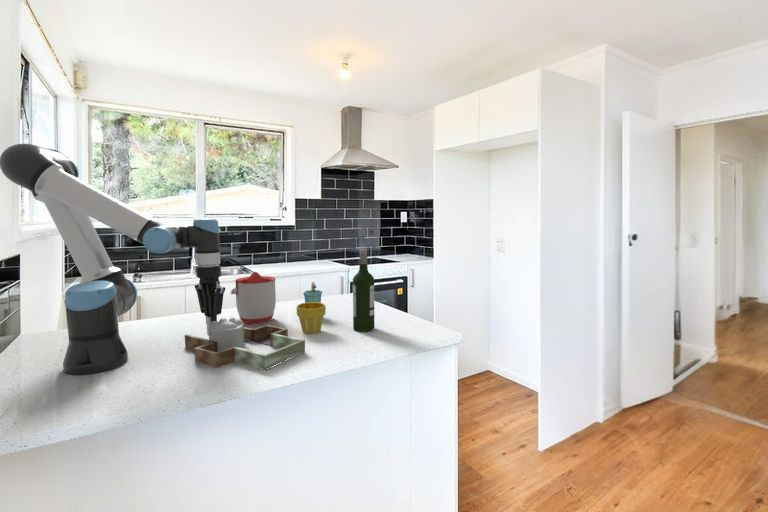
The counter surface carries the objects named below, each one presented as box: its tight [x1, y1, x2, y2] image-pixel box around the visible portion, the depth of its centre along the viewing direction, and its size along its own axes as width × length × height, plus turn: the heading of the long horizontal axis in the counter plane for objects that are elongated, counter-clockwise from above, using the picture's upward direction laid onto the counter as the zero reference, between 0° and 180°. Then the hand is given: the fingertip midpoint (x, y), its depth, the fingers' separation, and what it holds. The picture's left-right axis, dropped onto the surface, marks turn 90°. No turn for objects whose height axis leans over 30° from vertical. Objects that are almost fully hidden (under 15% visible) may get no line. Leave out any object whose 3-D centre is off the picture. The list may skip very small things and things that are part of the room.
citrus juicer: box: [230, 271, 277, 325], centre depth 160 cm, size 16×17×20 cm
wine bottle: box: [352, 248, 375, 333], centre depth 148 cm, size 8×8×30 cm
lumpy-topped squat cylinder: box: [208, 316, 245, 352], centre depth 131 cm, size 10×13×9 cm
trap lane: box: [184, 324, 306, 370], centre depth 127 cm, size 37×28×4 cm
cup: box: [303, 281, 323, 303], centre depth 165 cm, size 14×8×15 cm, turn 18°
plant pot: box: [296, 302, 327, 335], centre depth 146 cm, size 10×10×10 cm
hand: (212, 334), depth 135 cm, fingers closed
